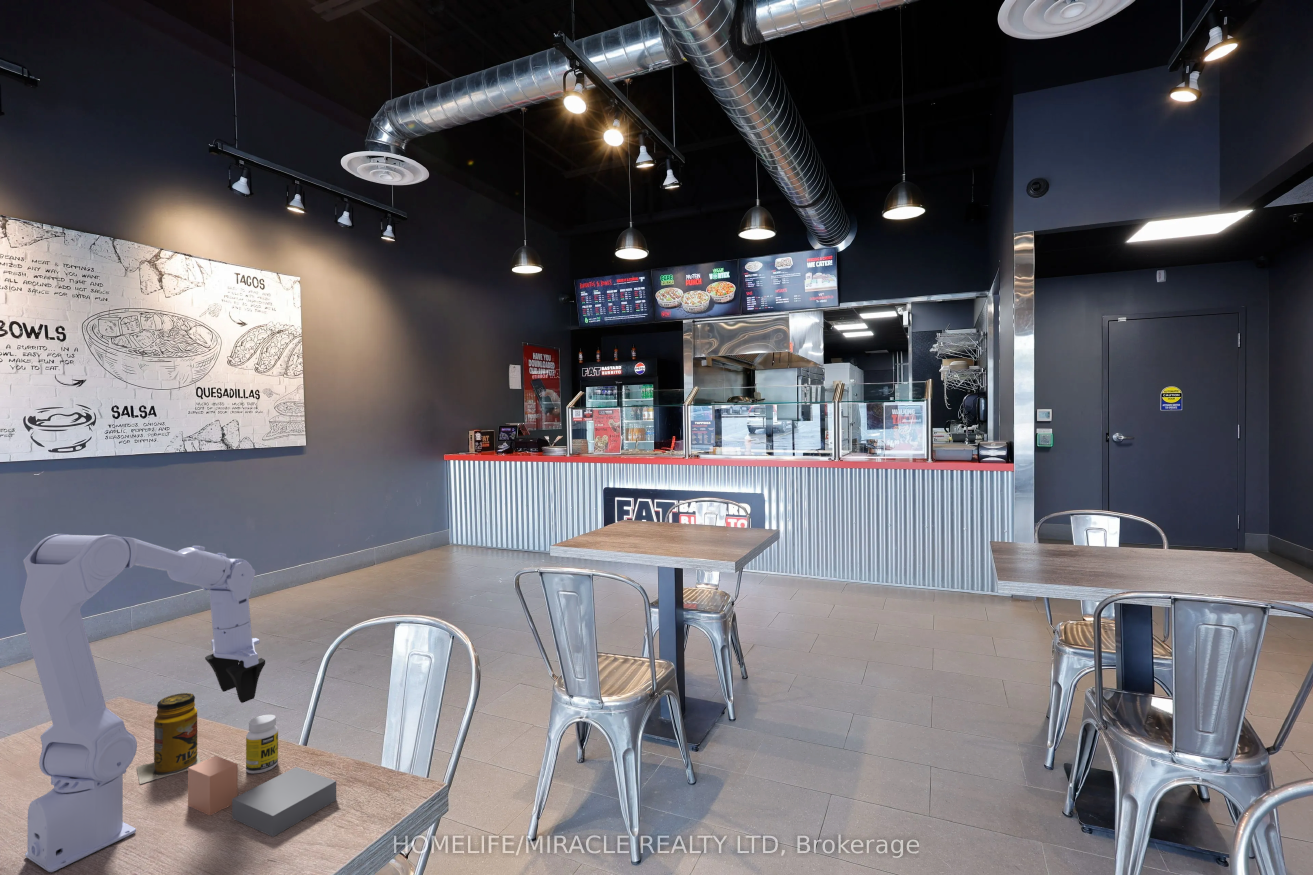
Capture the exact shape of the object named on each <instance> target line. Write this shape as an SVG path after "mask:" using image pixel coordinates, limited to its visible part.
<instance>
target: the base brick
mask: <svg viewBox="0 0 1313 875" xmlns="http://www.w3.org/2000/svg"><path fill="white" fill-rule="evenodd" d="M335 801H337V780H335V779H332V778H330V777H329V778H328V777H326V776H323V775H320V774H318V773H315V772H312V771H309V770H306V769H303V768H300V767H298V766H295V767H293V768H291V769H289V770H287V771H285V772H283V773H281V774H279V775H277V776H275V777H273V778H271V779H269V780H267V781H265V782H263V783H261V784H259V785H257V786H255V787H253V788H251V789H250V790H247V791H245V792H243V793H241V794H239V795H238V796H237V797H235V798H233V799H232V805H231V812H232V813H231V818H232V819H233V820H234V821H237V822H238V823H242V824H244V825H245V826H248V827H250V828H253V829H254V830H257V831H259V832H261V833H263V834H266V835H268V836H270V837H275V836H277V835H278V834H280V833H282V832H284V831H286V830H287V829H289V828H291V827H292V826H294V825H296V824H297V823H300V822H301V821H302V820H305V819H306V818H307V817H309V816H311V815H313V814H315V813H317V812H319V811H320V810H321V809H324V808H325V807H327V806H329V805H331V804H332V803H333V802H335Z"/></svg>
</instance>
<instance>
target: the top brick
mask: <svg viewBox="0 0 1313 875" xmlns="http://www.w3.org/2000/svg"><path fill="white" fill-rule="evenodd" d="M238 767H239V766H238V763H235V762H233V761H231V760H228V759H225V758H223V757H220V756H217V755H214V756H212V757H210V758H208V759H205V760H203V761H201V762H200V763H198V764H196V765H193V766H191V767H189V768H188V770H187V806H188V807H189V808H192V809H194V810H196V811H199V812H201V813H203V814H205V815H207V816H211V815H214V814H216V813H218V812H221V811H222V810H224V809H226V808H228V807H230V806H232V799H233V798H235V797H237V796H239V795H238V792H239V791H238V790H239V789H238V784H239V782H238V776H239V775H238V771H239V770H238Z"/></svg>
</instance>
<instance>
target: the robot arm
mask: <svg viewBox="0 0 1313 875" xmlns="http://www.w3.org/2000/svg"><path fill="white" fill-rule="evenodd" d="M205 550H206V547H205V546H202V545H192V546H191V547H184V548H181V549H179V550H178V551H176V550H172V549H170V548H167V547H163V546H160V545H157V544H153V543H150V542H147V541H143V540H140V539H138V538H135V537H131V536H130V537H127V536H119V535H115V534H104V535H92V534H91V535H89V534H88V535H87V534H86V535H84V534H82V535H81V534H67V533H56V534H52V535H49V536H46V537H45V538H43V539H41V540H40V541H39V542H38V543H37V544H35V546H34V547H33V548H32V550H31V551H30V552H29V553H28V555H26V556H25V558H24V559H23V561H22V562H23V566H24V569H25V571H26V580H25V586H24V589H23V593H22V598H21V602H20V605H19V610H20V615H21V619H22V623H23V627H24V629H25V632H26V636H27V639H28V643H29V646H30V649H31V654H32V656H33V660H34V663H35V667H36V671H37V674H38V678H39V681H40V684H41V685H40V686H41V687H42V691H43V694H44V697H45V702H46V705H47V708H48V711H49V716H50V718H51V722H52V724H51V725H50V726H49V727H48V728H46V730H45V731H44V732H43V733H41V735H40V738H39V739H40V741H41V752H40V755H39V762H38V764H39V765H38V766H39V770H40V771H41V772H42V774H44V775H45V776H47V777H50V785H51V786H53V788H52V789H50V790H49V791H48V792H47V793H45V794H43V795H41V796H40V797H37V798H35V799H33V800H32V801H31V802H30V803H29V806H28V809H27V852H25V858H27V859H29V860H30V861H32V862H33V863H34V864H36V865H38V866H39V867H40V868H42V869H43V870H45V871H47V873H54V872H56V871H58V870H60V869H61V868H64V867H66V866H69V865H71V864H72V863H75V862H77V861H79V860H81V859H83V858H85V857H87V856H90V855H91V854H94V853H95V852H99V851H100V850H102V849H104V848H106V847H108V846H110V845H113V844H114V843H116V842H118V841H120V840H122V839H125V838H127V837H129V836H131V835H133V834H136V832H137V828H136V827H134V826H132V825H130V824H128V823H127V822H124V820H123V817H124V816H123V815H124V810H123V809H124V808H123V807H124V804H123V802H124V801H123V800H124V796H123V795H124V794H123V792H124V791H123V790H124V789H123V788H124V787H123V785H124V781H123V780H124V776H123V775H124V774H126V773H127V769H128V768H129V767H130V766H131V764H132V762H133V761H134V759H135V756H136V753H137V749H138V742H137V739H136V737H135V735H134V734H133V733H131V732H129V730H127V728H126V726H125V723H124V720H123V719H122V718H120V716H118V715H117V714H116V713H114V712H113V711H111V710H110V709H109V708H108V707H107V705H106V701H105V698H104V695H103V694H104V693H103V690H102V686H101V683H100V679H99V675H98V672H97V669H96V664H95V662H94V657H93V656H94V655H93V653H92V650H91V645H90V642H89V638H88V634H87V631H86V628H85V627H86V626H85V624H84V619H83V616H82V613H81V612H82V611H81V608H82V606H83V605H84V604H85V603H86V602H87V601H88V600H90V599H91V598H92V597H94V596H95V595H96V594H97V593H99V591H100V590H102V589H103V588H104V587H105V586H107V585H108V584H109V583H110V582H111V581H113V580H114V579H115V578H116V577H118V575H120V574H121V573H122V572H123V571H124V569H131V568H133V567H134V566H138V567H142V568H149V569H154V570H160V571H164V572H167V575H168V576H167V577H169V579H170V580H172V581H174V582H179V583H181V584H182V583H183V584H188V585H193V586H198V587H200V588H201V589H203V590H204V591H209V593H208V594H209V604H210V615H211V624H212V625H211V626H212V638H213V639H211V640H210V641H211V642H210V643H211V650H212V651H213V653H212V654H208V655H206V656H205V657H204V659H205V661H206V662H207V663H208V664H209V666H210V667H211V668H212V669H211V670H213V672H214V674H215V677H216V679H217V682H218V685H219V687H220V689H221V691H222V692H227V691H230V690H231V689H235V691H236V694H237V698H238V700H239V702H240V703H241V704H243V703H246V702H248V701H251V700H254V699H255V696H256V693H257V692H256V691H257V687H258V683H259V677H260V675H261V673H262V670H263V669H264V667H265V665H266V659H264V658H263V657H260V658H259V653H257V652H256V645H258V644H260V639H259V638H257V637H253V634H252V623H251V613H250V612H251V611H250V597H251V593H252V584H253V582H254V579H255V577H256V576H255V575H256V570H255V569H254V568H253V566H252V564H251V563H249V561H248V560H246V559H243V558H229V557H227V553H225V552H224V553H223V552H217V553H213V552H209V551H205Z"/></svg>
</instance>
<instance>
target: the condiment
mask: <svg viewBox="0 0 1313 875" xmlns="http://www.w3.org/2000/svg"><path fill="white" fill-rule="evenodd" d="M195 699H196V696H195V694H193V693H191V692H186V693H185V692H181V693H176V694H172V695H169V696H166V697H163V698H162V699H160V700H159V701H157V704H156V709H157V710H156V716H155V718H154V721H153V740H154V741H153V762H149V763H145V764H142V765H138V766H136V772H137V777H138V782H139V785H142V784H145V783H148V782H152V781H154V780H159V779H162V778H165V777H168V776H169V777H170V776H172V775H173V776H174V775H176V774H179V773H184V772H186V771H187V772H188V768H189V767H191V766H193V765H196V764H198V763H200V762H202V761H201V758H200V755H199V753H198V745H199V743H198V709H197V708H196V707H195V706H196V703H195V701H196V700H195Z"/></svg>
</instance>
